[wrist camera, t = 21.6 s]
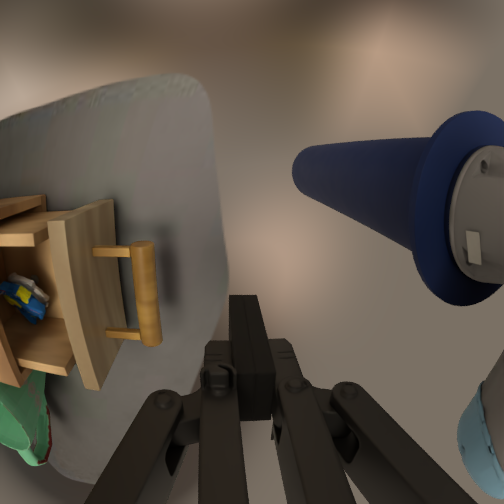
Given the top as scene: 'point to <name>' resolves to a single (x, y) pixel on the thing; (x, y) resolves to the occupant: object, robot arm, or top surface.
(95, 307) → the drawer
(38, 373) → the mug
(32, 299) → the toy
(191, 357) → the top surface
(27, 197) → the cabinet
